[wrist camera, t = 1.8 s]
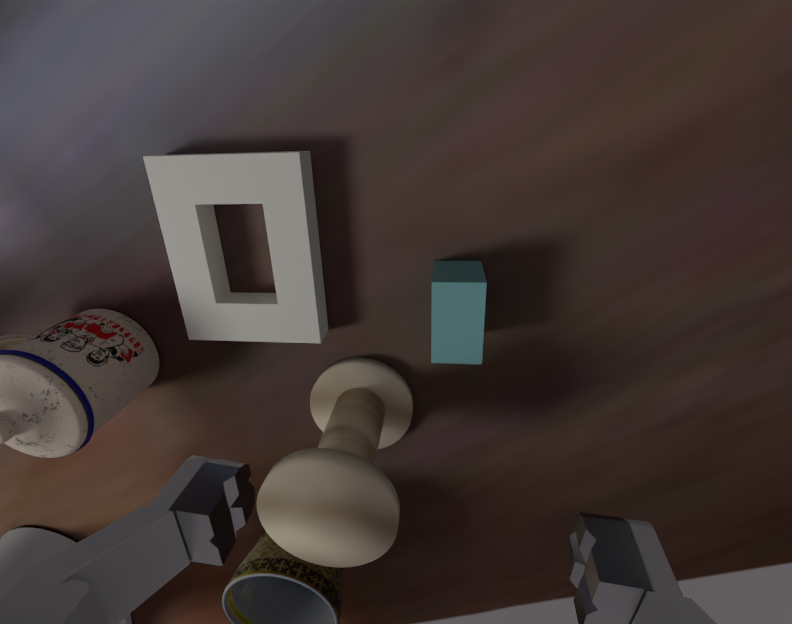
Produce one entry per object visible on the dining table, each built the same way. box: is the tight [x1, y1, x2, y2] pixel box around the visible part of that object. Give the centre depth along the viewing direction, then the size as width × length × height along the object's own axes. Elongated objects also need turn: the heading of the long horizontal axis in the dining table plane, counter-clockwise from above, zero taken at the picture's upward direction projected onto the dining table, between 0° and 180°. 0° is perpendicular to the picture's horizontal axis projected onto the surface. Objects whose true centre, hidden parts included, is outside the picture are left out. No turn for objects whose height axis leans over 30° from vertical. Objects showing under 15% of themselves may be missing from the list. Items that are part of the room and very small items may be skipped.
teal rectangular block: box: [431, 261, 487, 364], centre depth 30 cm, size 6×4×5 cm, turn 2°
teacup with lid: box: [0, 309, 159, 458], centre depth 33 cm, size 12×9×12 cm
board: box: [143, 151, 328, 343], centre depth 32 cm, size 14×11×2 cm
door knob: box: [257, 357, 413, 568], centre depth 32 cm, size 9×9×12 cm
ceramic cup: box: [222, 531, 342, 624], centre depth 40 cm, size 13×10×10 cm
